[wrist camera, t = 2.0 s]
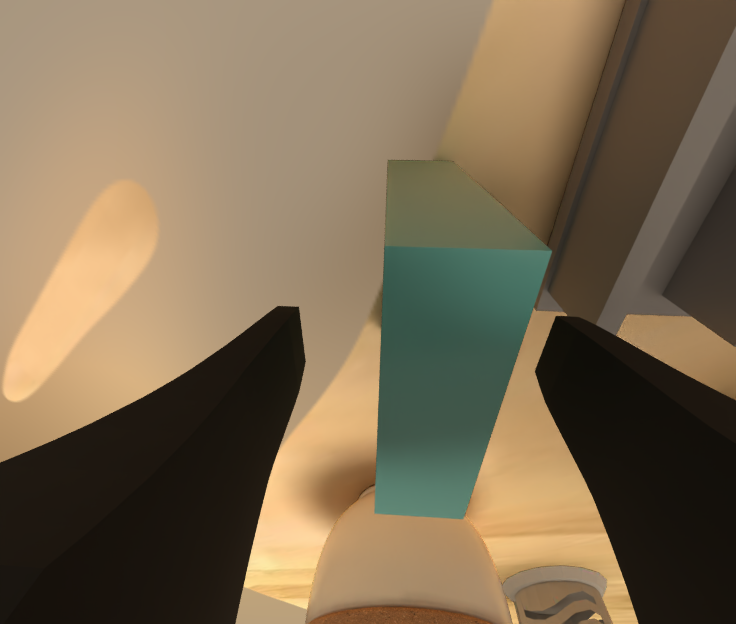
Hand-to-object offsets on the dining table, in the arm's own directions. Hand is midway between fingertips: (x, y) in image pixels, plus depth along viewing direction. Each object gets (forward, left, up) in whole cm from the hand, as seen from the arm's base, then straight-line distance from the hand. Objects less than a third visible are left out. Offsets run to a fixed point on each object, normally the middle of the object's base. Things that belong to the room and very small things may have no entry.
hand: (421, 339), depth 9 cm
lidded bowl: (-21, -1, -6) cm, 22 cm away
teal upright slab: (0, 0, -6) cm, 6 cm away
